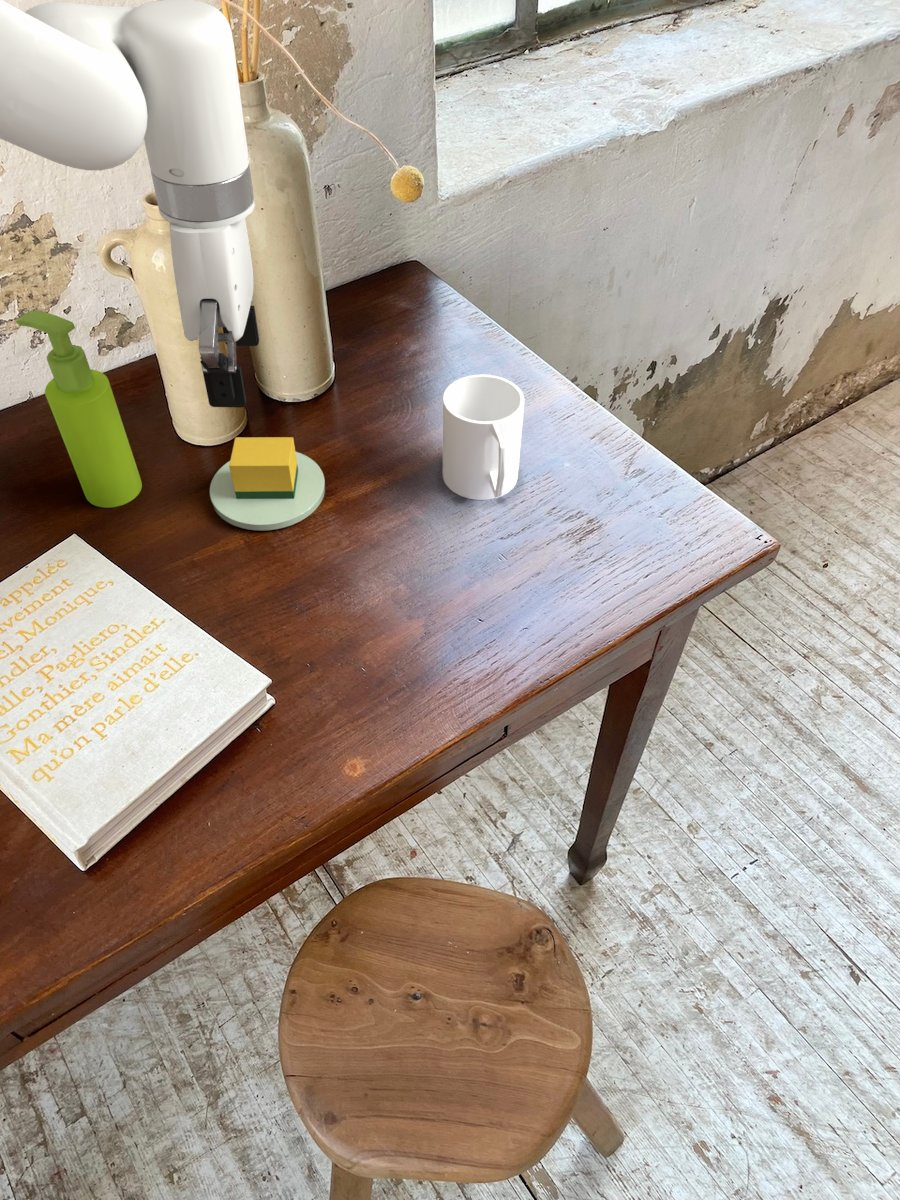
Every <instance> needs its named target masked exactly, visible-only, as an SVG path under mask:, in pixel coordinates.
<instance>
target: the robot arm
mask: <svg viewBox="0 0 900 1200" xmlns="http://www.w3.org/2000/svg"><path fill="white" fill-rule="evenodd" d="M235 49H236V48H235V43H234V37H233V30H232V28H231V25H230V23H229V20H228V18H226V16H225V15H224V14H223V12H222V11H221V10H219V9H218V8H217V7H215V6H213V5H211V4H209V3H206V2H203V1H199V0H154V1H150V2H146V3H143V4H141V5H138V6H119V5H103V4H92V3H82V2H70V1H69V2H67V1H53V2H45V3H40V4H37V5H34V6H33V7H30V8H28V9H27V10H25V11H23V10H21V9H19V8H17V7H15V6H14V5H12V4H10V3H8V2H7V1H6V0H0V140H3V141H5V142H7V143H10V144H12V145H13V146H16V147H19V148H21V149H23V150H25V151H28V152H30V153H32V154H35V155H37V156H39V157H42V158H44V159H47V160H49V161H51V162H54V163H56V164H59V165H62V166H65V167H69V168H73V169H79V170H84V171H106V170H109V169H114V168H116V167H118V166H121V165H123V164H125V163H126V162H127V161H129V160H130V159H131V158H132V157H133V156H134V155H135V154H136V153H137V151H138V150H139V149H140V147H141V145H142V143H143V141H144V147H145V151H146V155H147V160H148V164H149V165H148V166H149V168H150V174H151V179H152V183H153V189H154V194H155V198H156V203H157V207H158V212H159V214H160V216H161V218H162V219H164V221H166V222H167V223H169V235H170V237H169V238H170V249H171V250H170V251H171V259H172V268H173V273H174V274H173V275H174V281H175V289H176V293H177V299H178V306H179V312H180V318H181V324H182V330H183V334H184V337H185V339H186V340H188V341H189V342H193V341H198V352H199V355H200V365H201V372H202V375H203V380H204V385H205V390H206V395H207V399H208V404H209V406H210V407H211V408H244V407H245V406H246V405H247V397H246V392H245V385H244V379H243V372H242V368H241V367H242V366H241V365H237V347H257V346H258V345H259V343H260V335H259V329H258V328H259V327H258V322H257V314H256V308H255V307H256V306H255V305H252V304H253V296H254V288H255V287H254V285H255V283H254V281H255V280H254V269H253V267H254V266H253V259H252V253H251V245H250V239H249V232H248V226H247V220H246V219H247V218H248V217H249V216H250V215H251V214H252V213H253V212H254V210H255V207H256V203H255V197H254V196H255V195H254V188H253V179H252V171H251V165H250V158H249V157H250V156H249V149H248V144H247V143H248V141H247V134H246V128H245V121H244V113H243V112H244V111H243V105H242V97H241V90H240V82H239V75H238V73H239V72H238V66H237V58H236V50H235ZM219 328H222V332H219ZM219 343H224V344H225V345H226V351H227V352H226V354H225V353H224V352H220V347H219ZM226 355H227V356H226Z"/></svg>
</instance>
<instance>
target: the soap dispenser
mask: <svg viewBox="0 0 900 1200" xmlns="http://www.w3.org/2000/svg"><path fill="white" fill-rule="evenodd" d="M14 322H15V323H16V324H17V325H18V326H20V327H27V328H32V329H35V330H38V331H40V332H43V333H45V334H47V337H48V339H49V342H50V344H51V347H52V349H51V350H50V351H49V352H48V354H47V355H46V361H47V364H48V366H49V369H50V372H51V374H52V377H53V378H52V379H51V380H49V382H47V384H46V386H45V388H44V395H45V398H46V401H47V403H48V405H49V408H50V411H51V413H52V415H53V417H54V420H55V423H56V425H57V428H58V430H59V434H60V436H61V438H62V440H63V443H64V445H65V448H66V451H67V453H68V456H69V458H70V462H71V464H72V466H73V469H74V471H75V474H76V477H77V479H78V481H79V484H80V487H81V489H82V491H83V494H84V496H85V499H86V500H87V502H89V504H91V505H93V506H95V507H98V508H104V509H110V508H118V507H120V506H124V505H127V504H129V503H130V502H132V501H133V500H134V499H136V498H137V497H138V496H139V494H140V493H141V491H142V488H143V482H142V479H141V475H140V472H139V469H138V467H137V463H136V460H135V457H134V454H133V451H132V448H131V445H130V442H129V438H128V436H127V432H126V430H125V426H124V423H123V421H122V417H121V414H120V411H119V408H118V405H117V403H116V398H115V396H114V393H113V390H112V387H111V384H110V380H109V378H108V377H107V375H106V374H105V373H104V372H102V371H99V370H97V369H93V368H91V366H90V364H89V361H88V358H87V355H86V352H85V350H84V349H83V347H81V346H79V345H76V344H73V343H72V341H71V337H70V335H69V333H70V332H72V331H73V330H75V329H76V326H75V324H74V322H73V321H70V320H68V319H66V318H63V317H62V316H58V315H55V314H53V313H49V312H47V311H41V310H29V311H27V312H26V313H24V314H23V315H21V316H20V317H18V318H16V319H15V320H14Z"/></svg>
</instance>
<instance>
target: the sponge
mask: <svg viewBox="0 0 900 1200" xmlns="http://www.w3.org/2000/svg"><path fill="white" fill-rule="evenodd" d="M296 452H297V451H296V447H295V440H294V437H293V436H290V437H289V436H287V437H286V436H281V437H280V436H278V437H277V436H275V437H274V436H273V437H272V436H271V437H269V436H265V437H264V436H263V437H260V436H259V437H258V436H257V437H253V436H252V437H249V436H245V437H243V436H242V437H239V436H238V437H234V441H233V446H232V451H231V455H230V460H229V461H230V464H229V468H230V472H231V476H232V481H233V485H234V490H235V494H236V498H237V499H292V498H294V497H295V490H296V483H297V475H298V465H297V459H296Z"/></svg>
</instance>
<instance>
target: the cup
mask: <svg viewBox="0 0 900 1200" xmlns="http://www.w3.org/2000/svg"><path fill="white" fill-rule="evenodd" d="M524 412H525V395H524V392H523V391H522V389H521V388H520V387H519V386H518V385H517V384H516V383H514V382H512V381H511V380H509V379H507V378H505V377H502V376H498V375H493V374H483V373H482V374H471V375H466V376H463V377H460V378H458V379H456V380H454V381H453V382H452V383H450V384H449V385H448V386H447V387H446V389H445V390H444V392H443V396H442V479H443V481H444V484H445V485H446V487H447V488H448V489H449V490H450V491H451V492H453V493H454V494H456V495H457V496H459V497H463V498H465V499H470V500H473V501H488V500H494V499H498V498H500V497H503V496H505V495H506V494H508V493H510V492H511V491H512V490H513V489H514V488H515V486H516V485H517V482H518V479H519V467H520V457H521V456H520V455H521V448H522V447H521V445H522V433H523V426H524V425H523V423H524Z"/></svg>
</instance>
